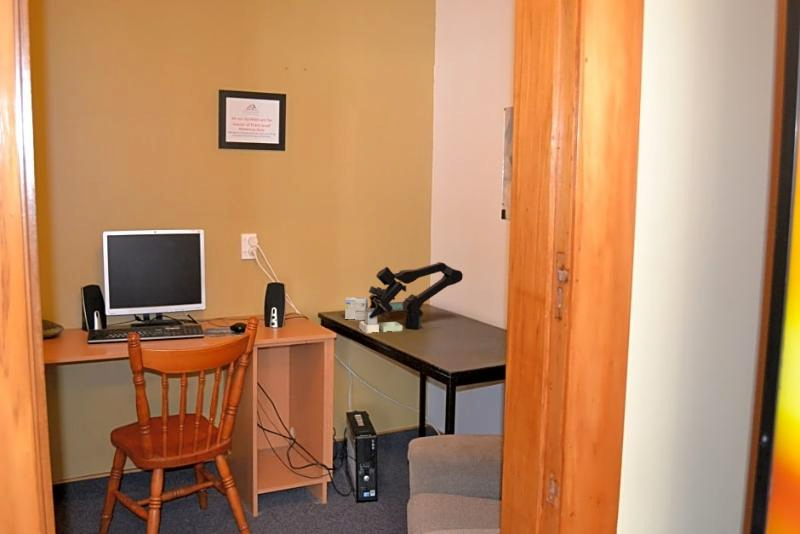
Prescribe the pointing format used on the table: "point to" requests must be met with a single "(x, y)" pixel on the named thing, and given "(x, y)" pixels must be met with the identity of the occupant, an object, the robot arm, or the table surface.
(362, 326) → the bay
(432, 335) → the table surface
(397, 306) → the book
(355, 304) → the light bulb box
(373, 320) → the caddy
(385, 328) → the tray
